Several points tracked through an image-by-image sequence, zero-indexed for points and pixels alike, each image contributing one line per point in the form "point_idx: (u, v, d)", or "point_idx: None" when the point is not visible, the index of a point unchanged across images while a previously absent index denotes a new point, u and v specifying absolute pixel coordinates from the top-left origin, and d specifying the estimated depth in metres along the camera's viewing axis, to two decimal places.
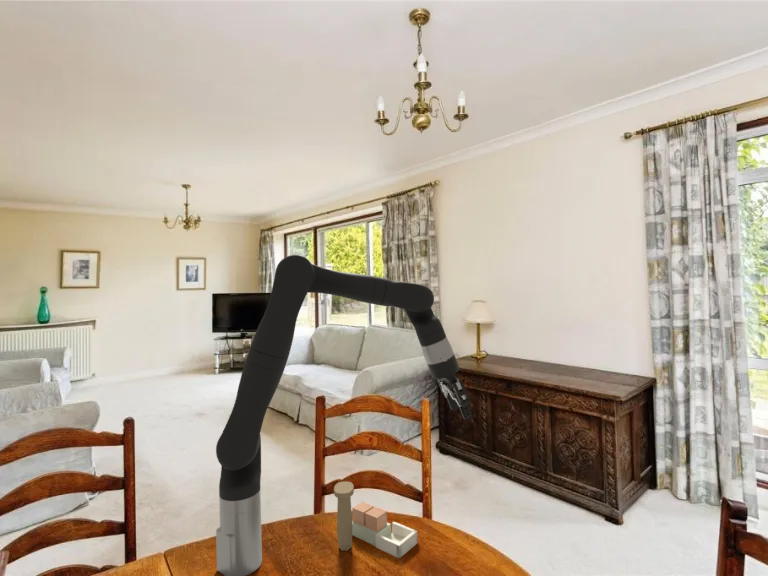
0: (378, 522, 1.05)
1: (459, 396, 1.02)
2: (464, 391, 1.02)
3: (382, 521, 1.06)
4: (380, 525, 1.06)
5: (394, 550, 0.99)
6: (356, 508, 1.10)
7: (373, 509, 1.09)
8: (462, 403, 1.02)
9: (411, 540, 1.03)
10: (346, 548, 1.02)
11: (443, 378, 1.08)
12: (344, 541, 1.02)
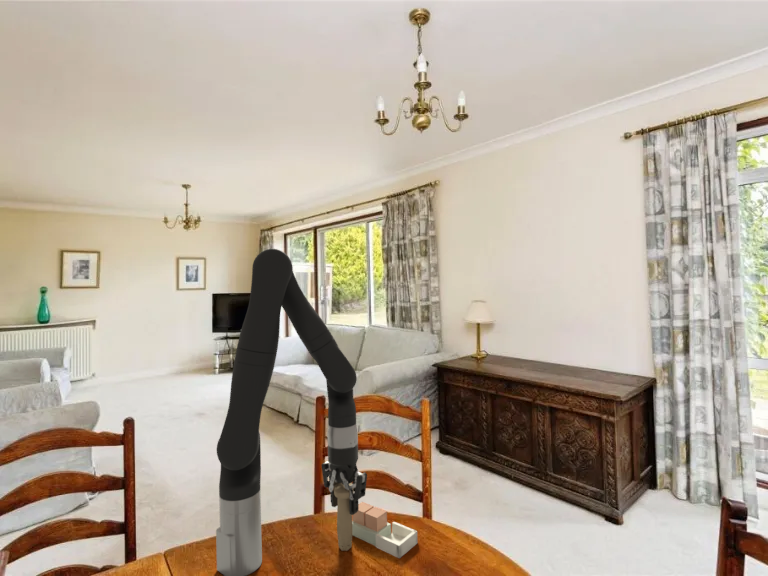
0: (378, 522, 1.05)
1: (360, 489, 0.99)
2: (364, 485, 1.00)
3: (382, 521, 1.06)
4: (380, 525, 1.06)
5: (394, 550, 0.99)
6: None
7: (373, 509, 1.09)
8: (359, 496, 0.99)
9: (411, 540, 1.03)
10: (346, 548, 1.02)
11: (339, 465, 1.03)
12: (344, 541, 1.02)
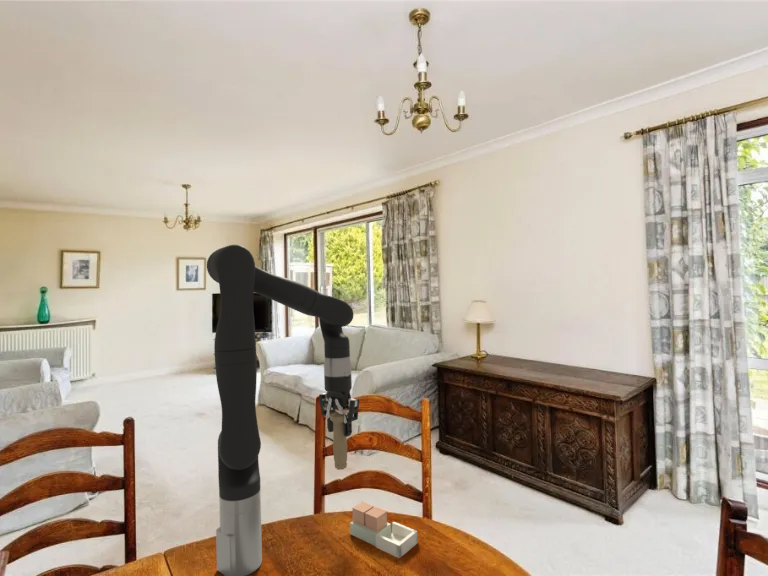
0: (378, 522, 1.05)
1: (352, 413, 1.10)
2: (357, 409, 1.12)
3: (382, 521, 1.06)
4: (380, 525, 1.06)
5: (394, 550, 0.99)
6: (356, 508, 1.10)
7: (373, 509, 1.09)
8: (352, 419, 1.11)
9: (411, 540, 1.03)
10: (341, 467, 1.13)
11: (334, 393, 1.15)
12: (339, 461, 1.13)
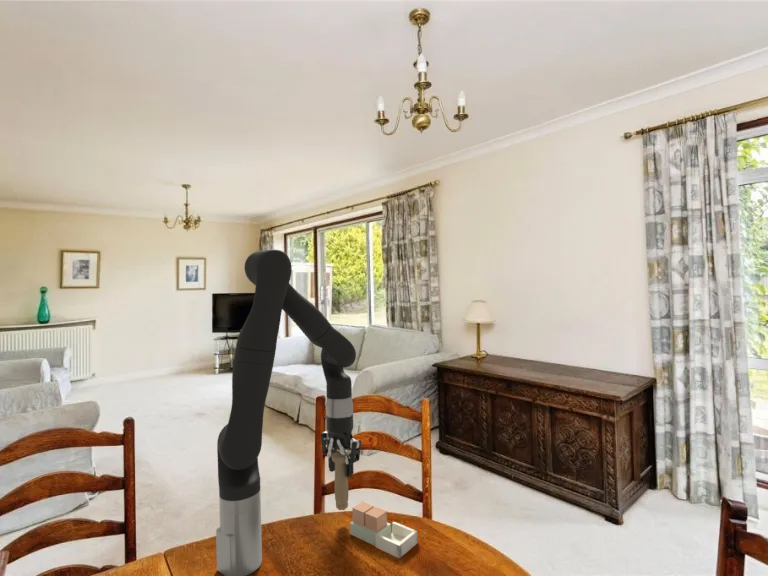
0: (378, 522, 1.05)
1: (354, 454, 1.11)
2: (359, 450, 1.12)
3: (382, 521, 1.06)
4: (380, 525, 1.06)
5: (394, 550, 0.99)
6: (356, 508, 1.10)
7: (373, 509, 1.09)
8: (354, 460, 1.11)
9: (411, 540, 1.03)
10: (343, 508, 1.14)
11: (336, 434, 1.15)
12: (340, 501, 1.13)
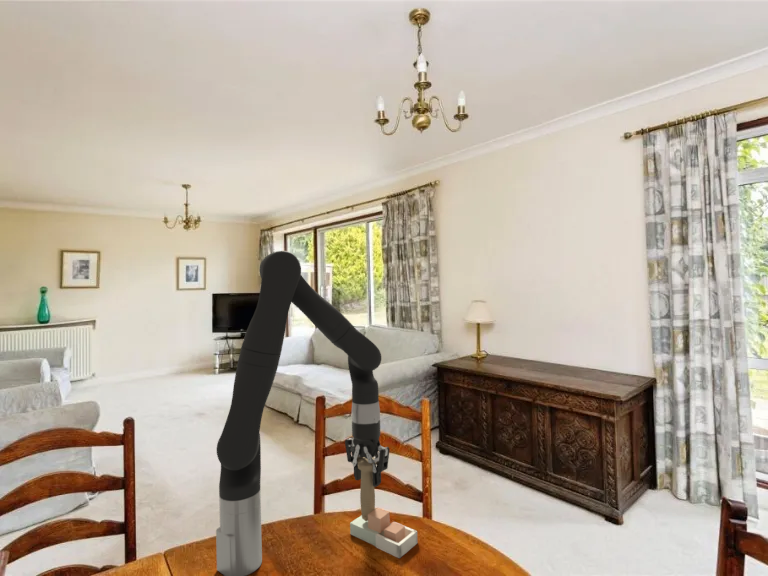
0: None
1: (383, 462, 1.05)
2: (387, 458, 1.06)
3: None
4: None
5: (394, 550, 0.99)
6: (372, 514, 1.06)
7: (402, 530, 1.03)
8: (382, 469, 1.05)
9: (411, 540, 1.03)
10: None
11: (362, 440, 1.09)
12: (367, 512, 1.07)
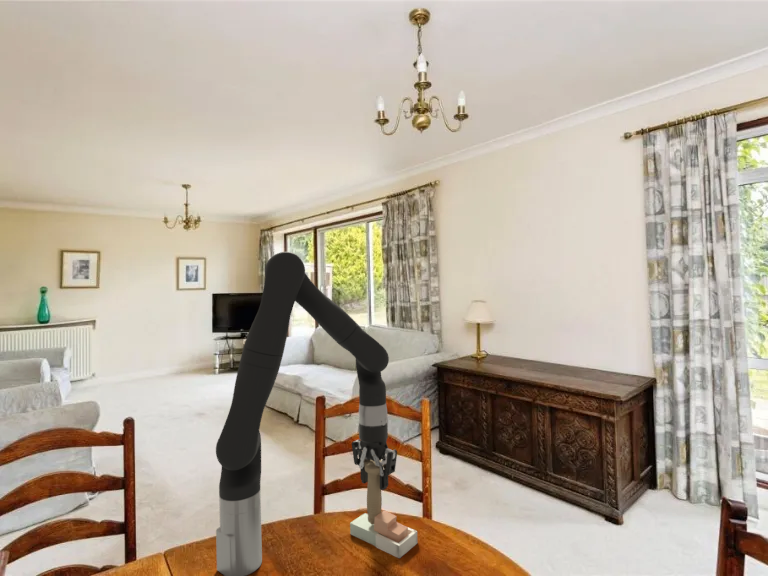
0: None
1: (390, 465, 1.03)
2: (395, 461, 1.04)
3: None
4: None
5: (394, 550, 0.99)
6: (379, 518, 1.05)
7: (405, 531, 1.03)
8: (389, 472, 1.03)
9: (411, 540, 1.03)
10: None
11: (369, 443, 1.07)
12: (373, 515, 1.06)
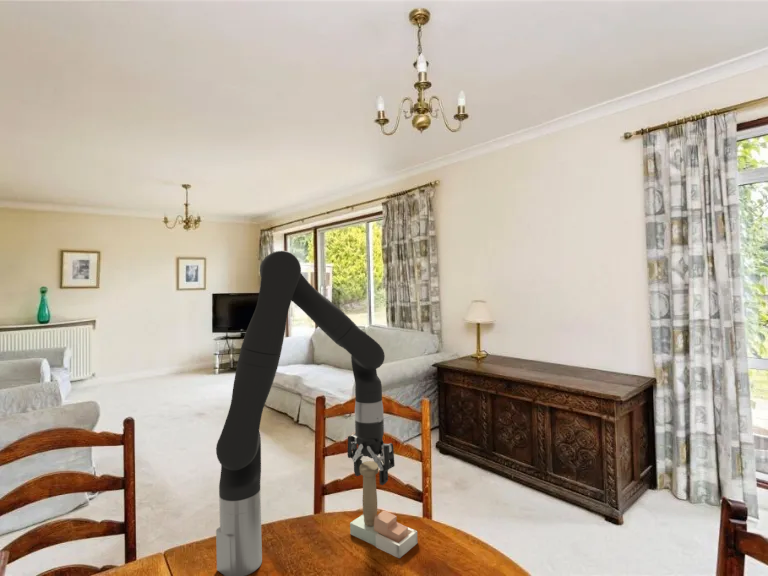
0: None
1: (388, 459, 1.04)
2: (392, 454, 1.05)
3: None
4: None
5: (394, 550, 0.99)
6: (379, 518, 1.05)
7: (405, 531, 1.03)
8: (389, 466, 1.03)
9: (411, 540, 1.03)
10: (371, 524, 1.07)
11: (366, 439, 1.08)
12: (369, 517, 1.07)
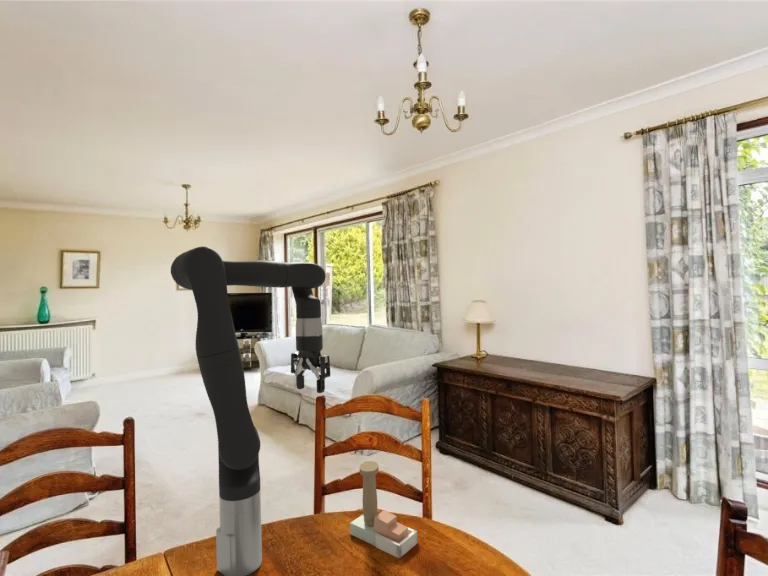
0: None
1: (324, 368, 1.13)
2: (328, 365, 1.14)
3: None
4: None
5: (394, 550, 0.99)
6: (379, 518, 1.05)
7: (405, 531, 1.03)
8: (324, 375, 1.13)
9: (411, 540, 1.03)
10: (371, 524, 1.07)
11: (305, 354, 1.18)
12: (369, 517, 1.07)
